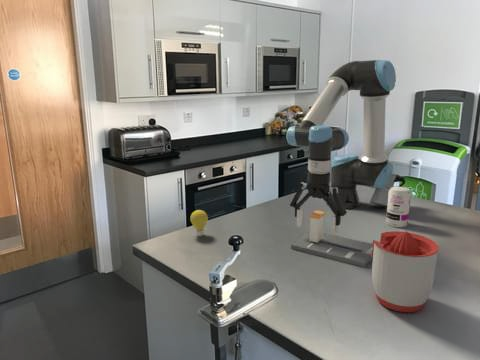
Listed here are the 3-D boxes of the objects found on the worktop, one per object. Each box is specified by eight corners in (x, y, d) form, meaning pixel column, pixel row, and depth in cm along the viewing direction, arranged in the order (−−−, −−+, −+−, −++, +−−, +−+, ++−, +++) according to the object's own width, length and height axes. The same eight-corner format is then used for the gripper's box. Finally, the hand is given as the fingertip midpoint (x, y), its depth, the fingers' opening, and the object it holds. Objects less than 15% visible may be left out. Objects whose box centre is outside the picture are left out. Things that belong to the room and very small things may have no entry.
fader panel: (310, 233, 152) (310, 229, 152) (379, 249, 138) (379, 245, 137) (290, 248, 139) (290, 244, 139) (364, 267, 125) (364, 262, 124)
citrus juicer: (375, 279, 118) (380, 215, 113) (438, 298, 107) (447, 229, 102) (353, 301, 106) (357, 232, 101) (421, 326, 95) (430, 249, 90)
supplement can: (404, 221, 164) (407, 186, 160) (410, 228, 156) (414, 191, 152) (383, 220, 165) (386, 185, 161) (389, 227, 157) (392, 191, 153)
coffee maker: (365, 200, 177) (375, 161, 178) (364, 201, 186) (373, 164, 186) (400, 209, 174) (410, 169, 174) (397, 209, 182) (406, 171, 183)
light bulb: (187, 236, 151) (186, 211, 148) (197, 230, 157) (196, 206, 154) (202, 239, 148) (201, 214, 145) (211, 233, 154) (211, 209, 151)
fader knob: (315, 235, 145) (316, 210, 142) (323, 237, 143) (324, 212, 140) (308, 240, 141) (309, 214, 138) (317, 242, 139) (318, 216, 136)
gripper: (281, 169, 139) (280, 225, 145) (350, 178, 126) (346, 240, 131) (291, 165, 145) (290, 219, 151) (358, 173, 132) (354, 233, 137)
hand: (316, 229), depth 141 cm, fingers open, 13 cm apart
